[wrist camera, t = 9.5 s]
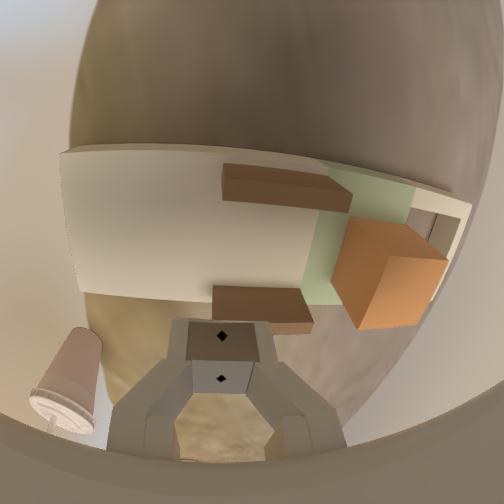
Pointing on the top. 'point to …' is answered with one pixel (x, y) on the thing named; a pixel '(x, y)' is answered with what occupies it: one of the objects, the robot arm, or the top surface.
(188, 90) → the top surface
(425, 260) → the block
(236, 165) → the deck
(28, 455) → the robot arm
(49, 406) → the smoothie
